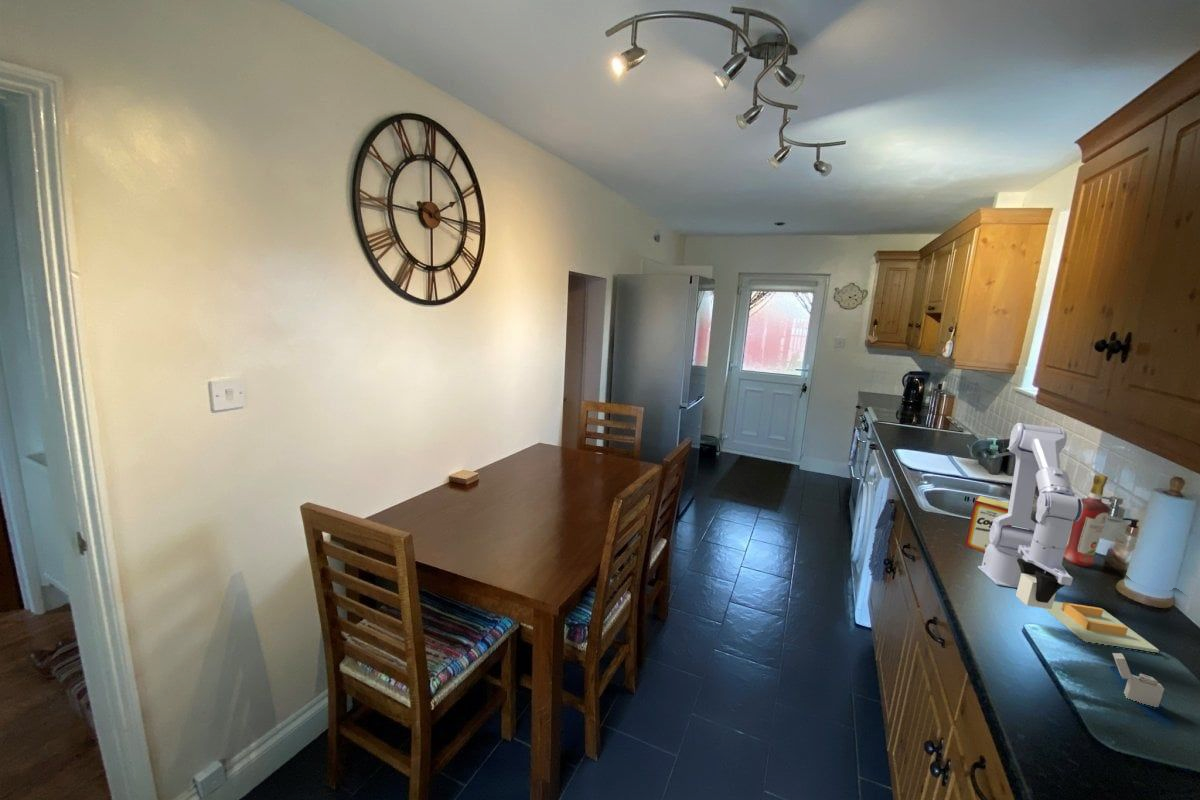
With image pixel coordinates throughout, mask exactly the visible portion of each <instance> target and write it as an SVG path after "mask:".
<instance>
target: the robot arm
mask: <svg viewBox="0 0 1200 800" xmlns="http://www.w3.org/2000/svg"><path fill="white" fill-rule="evenodd" d="M1011 429H1012V430H1011V432H1010V439H1009V443H1008V444H1009V445H1008V447H1009V448H1008V449H1009V450H1008V451H1009V452H1010V453H1012V454H1014V455H1015V465H1014V471H1013V478H1012V484H1011V491H1010V497H1009V502H1008V503H1009V508H1008V513H1006V514H1004V515H1001V516H998V517H996V518H994V520H993V524H992V526H991V529H990V533H989V539H990V542H991V543H990V544H989V545H988V546H987V547H986V549H985V553H984V554H983V559H982V561H981V562H982V563H981V565H978V566H977V568H978V569H979V570H980V571H981V572H982V573H983V574H984V575H986V576H987V577H988V578H989V579H990V580H991V581H992V582H994V583H995V585H998V586H1003V587H1009V588H1017V589H1018V585H1019V581H1020V577H1021V573H1024V574H1031V575H1035V576H1036V580H1037V589H1036V600H1037V601H1038V602H1044V603H1048V602H1049V600H1050V599H1051V598H1052V596H1053V595H1054V594H1055V593H1056V594H1057V592H1058V591H1059V590H1060V589H1062V588H1063V587H1065V586H1070V587H1071V586H1072V583H1073V579H1074V578H1073V576H1071V575H1070V574H1069V573H1068V571H1067V570H1066V569H1065V567H1064V566H1063V560H1064V558H1065V557H1064V554H1065V551H1066V547H1067V543H1068V539H1069V536H1070V532H1071V528H1072V525H1073V522H1072V521H1074V522H1077V521H1078V520H1079V519H1080V518H1081V515H1082V511H1083V503H1082V499H1083V498H1081V497H1080V496H1079V495H1078V494H1077V492H1073V488H1072V485H1071V481H1070V476H1069V474H1068V473H1067V471H1065V470H1063V469H1061V461H1060V453H1061V452H1062V450H1063V449H1064V448H1065V446H1066V444H1067V441H1068V440H1067V439H1068V438H1067V437H1068V436H1067V435H1068V434H1067V432H1066V430H1065V429H1064V428H1062V427H1052V426H1043V425H1038V424H1037V425H1035V424H1031V423H1030V424H1029V423H1022V422H1017V423H1016V424H1014V426H1013V428H1011ZM1036 486H1037V489H1038V497H1037V500H1036V512H1035V520H1036V521H1034V520H1032V513H1033V512H1032V511H1033V504H1034V498H1035V492H1036ZM1006 525H1013V526H1012V527H1011V526H1006ZM1023 528H1024V529H1023Z"/></svg>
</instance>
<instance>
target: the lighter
mask: <svg viewBox="0 0 1200 800" xmlns="http://www.w3.org/2000/svg"><path fill="white" fill-rule="evenodd" d="M1111 654H1112V656H1113V658H1114V661H1115V665H1116V666H1117V670H1118V672H1119V674H1120V677H1122V679H1126V680H1127V681H1126V685H1125V687H1124V691H1123V694H1125V695H1124V696H1126V697H1125V699H1127V698H1128V700H1129V699H1131V700H1130V701H1132V700H1133V702H1135V701H1137V702H1136V703H1138V702H1139V704H1141V703H1142V704H1141V705H1144V704H1146V705H1145V706H1147V705H1150V706H1154V707H1158V708H1159V706H1160V703H1161V699H1162V697H1163V695H1164V691H1165V688H1164V686H1163V685H1162V684H1161V683H1159V681H1158V680H1157V679H1155V678H1154V677H1153V676H1149V675H1146V674H1143V673H1141V672H1140V673H1139V675H1138V676H1137V675H1134V674H1132V673H1131V671H1130V668H1129V666H1128V662H1127V660H1126V658H1125V656H1124V655H1123V652H1122V653H1121V652H1119V653H1118V652H1117V653H1116V652H1112V653H1111ZM1150 706H1149V707H1150Z"/></svg>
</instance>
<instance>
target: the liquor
mask: <svg viewBox="0 0 1200 800" xmlns="http://www.w3.org/2000/svg"><path fill="white" fill-rule="evenodd" d="M1108 478H1109V476H1108V475H1107V476H1106V475H1104V474H1099V473H1098V474H1097V473H1095V474H1094V475H1093V480H1092V486H1091V489H1090V491H1089V493H1088V495H1087V498H1081V499H1082V503H1083V511H1082V515H1081V518H1080V519H1079V520H1078V521H1077V522H1074V521H1072V522H1073V525H1072V528H1071V532H1070V536H1069V539H1068V543H1067V546H1066V550H1065V554H1064V557H1063V558H1065V559H1066V561H1067V562H1068V561H1069V562H1068V563H1070V562H1071V563H1070V564H1072V563H1073V565H1075V564H1076V566H1078V565H1079V567H1089V566H1092V565H1095V563H1094V557H1095V555H1096V551H1097V548H1098V545H1099V542H1100V540H1101V537H1102V535H1103V533H1104V532H1103V531H1104V529H1105V526H1106V524H1107V521H1108V518H1109V515H1110V513H1111V510H1112V508H1111V507H1110V506H1109V505H1108V504H1106V503H1105V502H1103V494H1104V489H1105V488H1104V487H1105V486H1106V484H1107V481H1108Z"/></svg>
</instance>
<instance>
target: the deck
mask: <svg viewBox="0 0 1200 800" xmlns="http://www.w3.org/2000/svg"><path fill="white" fill-rule="evenodd" d="M1044 610H1046V611H1047V612H1048V613H1049V614H1050V615H1052V616H1053V617H1054V618H1055V619H1056V620H1057V621H1059V622H1060V623H1061V624H1062V625H1063V626H1064V627H1066V628H1067V629H1068V630H1070V632H1072V633H1073V634H1074V635H1075V636H1076V637H1078V638H1079V639H1080V640H1081V639H1082V640H1083V641H1085V642H1084V643H1088V642H1091V643H1090V644H1095V643H1098V644H1097V645H1101V644H1104V645H1103V646H1107V645H1113V646H1120V647H1126V648H1133V649H1140V650H1145V651H1151V652H1158V653H1159V652H1160V649H1158V648H1157V647H1156V646H1154V644H1152V643H1150V642H1149V641H1148V640H1146V639H1145V638H1144V637H1142V636H1141V635H1139V634H1138V633H1137V632H1135V631H1134V630H1132V628H1130V627H1128V626H1127V625H1125V623H1123V622H1121V621H1120V620H1119V619H1118V618H1116V617H1114V616H1113V615H1112V614H1111V613H1109V612H1107V610H1105V609H1104V608H1101V607H1097V606H1091V605H1090V606H1088V605H1083V604H1076V603H1070V602H1062V601H1061V602H1060V601H1056V600H1054V602H1053V605H1052V609H1046V608H1044ZM1082 640H1081V641H1082ZM1113 646H1112V647H1113Z"/></svg>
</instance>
